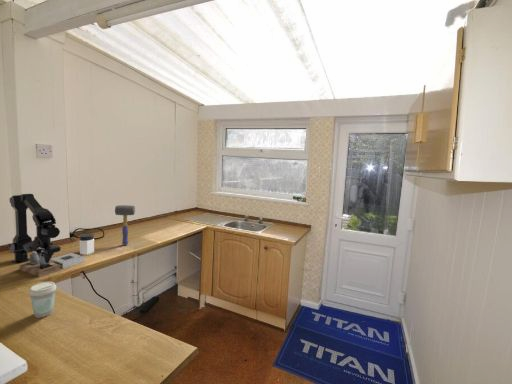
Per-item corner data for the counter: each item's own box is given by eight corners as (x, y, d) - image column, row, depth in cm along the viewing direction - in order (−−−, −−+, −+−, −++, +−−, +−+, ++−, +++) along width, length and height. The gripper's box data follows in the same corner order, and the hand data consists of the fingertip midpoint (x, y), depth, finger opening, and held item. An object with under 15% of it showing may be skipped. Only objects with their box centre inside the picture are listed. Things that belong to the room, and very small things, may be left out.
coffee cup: (26, 321, 97) (24, 292, 96) (35, 309, 105) (33, 282, 104) (53, 317, 101) (52, 289, 100) (60, 306, 109) (59, 279, 107)
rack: (19, 269, 139) (18, 253, 138) (40, 263, 148) (40, 248, 147) (39, 277, 132) (38, 260, 131) (60, 270, 141) (59, 254, 140)
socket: (49, 264, 148) (49, 259, 147) (71, 257, 159) (71, 252, 159) (62, 268, 143) (62, 263, 143) (84, 261, 154) (83, 256, 154)
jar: (97, 250, 173) (97, 233, 171) (90, 254, 165) (90, 237, 163) (83, 250, 172) (83, 233, 170) (76, 254, 164) (75, 236, 162)
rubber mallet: (114, 246, 181) (114, 206, 178) (117, 243, 188) (117, 204, 185) (133, 246, 185) (133, 206, 181) (135, 243, 192) (135, 204, 188)
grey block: (38, 270, 137) (37, 250, 136) (46, 267, 141) (46, 248, 139) (42, 272, 136) (42, 251, 134) (51, 269, 139) (50, 249, 138)
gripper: (14, 235, 132) (16, 263, 134) (36, 241, 125) (37, 271, 127) (39, 230, 142) (40, 256, 144) (60, 236, 135) (61, 263, 137)
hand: (44, 262), depth 138 cm, fingers closed on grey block, 4 cm apart
